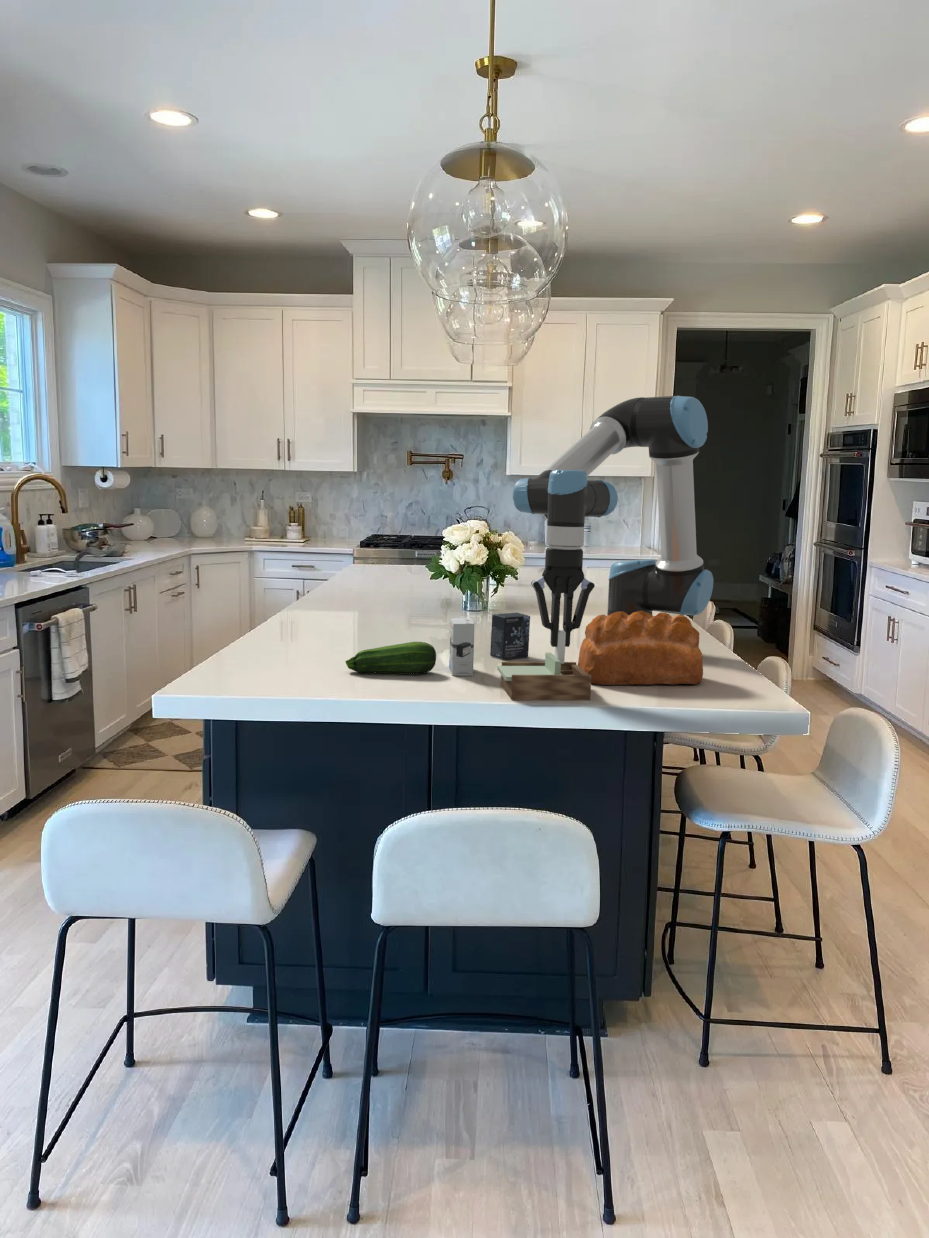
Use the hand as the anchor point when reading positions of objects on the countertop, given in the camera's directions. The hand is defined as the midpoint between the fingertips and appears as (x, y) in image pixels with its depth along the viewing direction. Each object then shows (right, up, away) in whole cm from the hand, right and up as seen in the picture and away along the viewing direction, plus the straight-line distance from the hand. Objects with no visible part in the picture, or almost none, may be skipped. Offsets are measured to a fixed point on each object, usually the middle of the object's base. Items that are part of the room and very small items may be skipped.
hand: (559, 662), depth 184 cm
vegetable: (-36, -3, +14) cm, 39 cm away
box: (-8, -1, +36) cm, 37 cm away
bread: (+19, -5, +15) cm, 25 cm away
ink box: (-20, -3, +18) cm, 27 cm away
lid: (-6, -3, 0) cm, 6 cm away
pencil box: (-3, -6, +1) cm, 7 cm away
